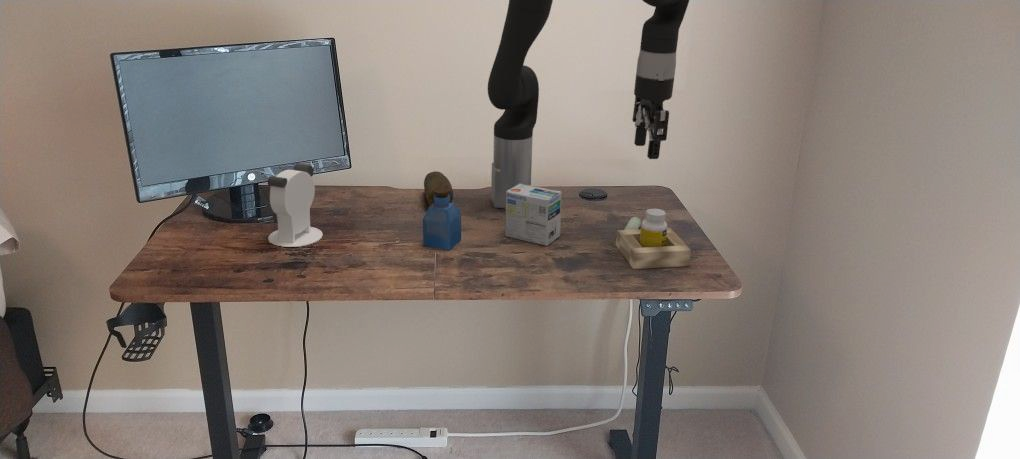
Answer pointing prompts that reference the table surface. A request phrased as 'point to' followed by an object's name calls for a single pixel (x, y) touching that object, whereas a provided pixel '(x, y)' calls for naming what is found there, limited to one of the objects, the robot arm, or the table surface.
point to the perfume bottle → (442, 222)
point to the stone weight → (436, 185)
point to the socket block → (652, 250)
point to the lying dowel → (633, 224)
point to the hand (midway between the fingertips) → (646, 151)
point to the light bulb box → (533, 214)
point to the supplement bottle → (653, 229)
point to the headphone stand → (293, 207)
